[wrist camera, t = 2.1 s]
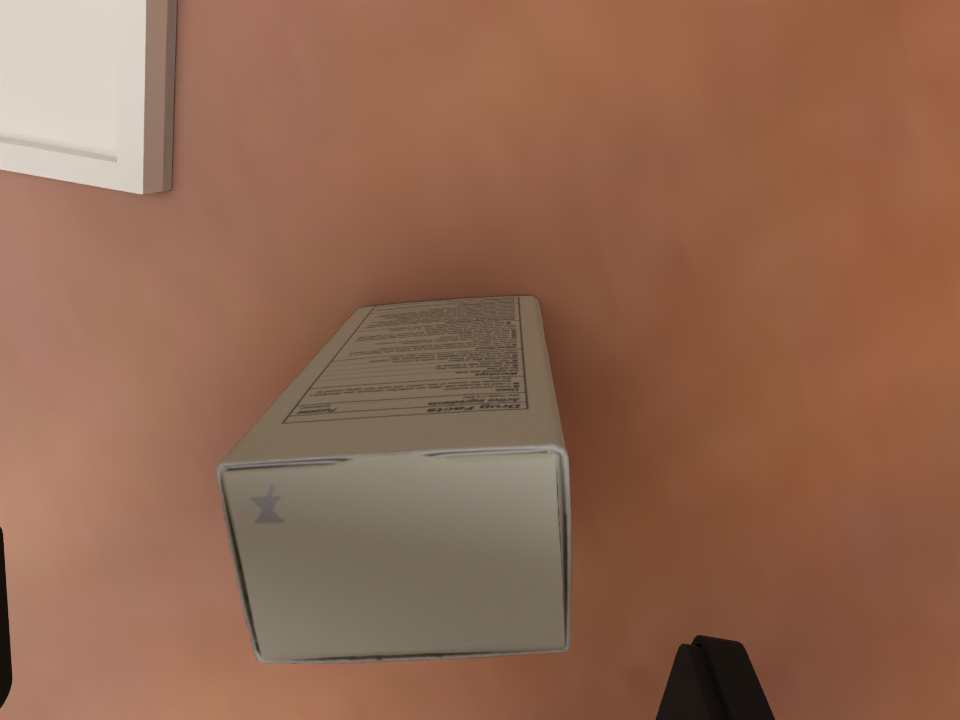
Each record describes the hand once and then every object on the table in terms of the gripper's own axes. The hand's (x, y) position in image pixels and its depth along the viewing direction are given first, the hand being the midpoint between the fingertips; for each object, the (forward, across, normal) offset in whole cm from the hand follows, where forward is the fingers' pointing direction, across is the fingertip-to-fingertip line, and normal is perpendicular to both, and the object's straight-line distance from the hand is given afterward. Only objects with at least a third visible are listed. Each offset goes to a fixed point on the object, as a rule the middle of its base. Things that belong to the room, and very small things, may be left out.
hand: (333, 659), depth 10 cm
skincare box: (+15, 0, +1) cm, 15 cm away
